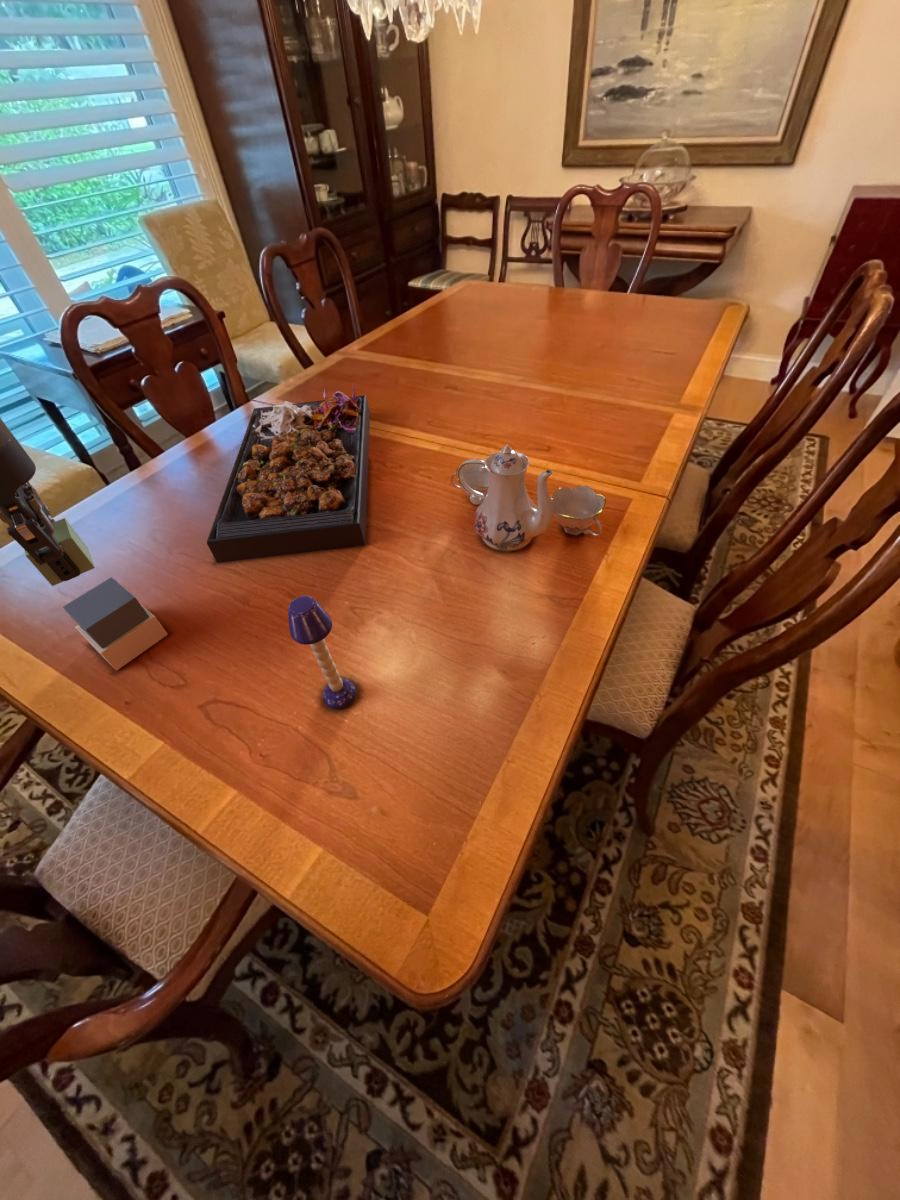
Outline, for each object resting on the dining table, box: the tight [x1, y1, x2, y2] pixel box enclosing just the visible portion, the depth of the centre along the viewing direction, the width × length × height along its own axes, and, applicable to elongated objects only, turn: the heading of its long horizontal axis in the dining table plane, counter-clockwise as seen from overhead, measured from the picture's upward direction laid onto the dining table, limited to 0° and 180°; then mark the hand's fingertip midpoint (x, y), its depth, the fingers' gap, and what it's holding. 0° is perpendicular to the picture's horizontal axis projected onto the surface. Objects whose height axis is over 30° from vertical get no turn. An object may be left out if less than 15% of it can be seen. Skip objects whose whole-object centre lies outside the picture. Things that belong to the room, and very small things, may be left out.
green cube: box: [23, 517, 96, 587], centre depth 65 cm, size 5×5×5 cm
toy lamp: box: [287, 595, 357, 710], centre depth 62 cm, size 5×5×17 cm
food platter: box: [206, 382, 371, 563], centre depth 100 cm, size 45×25×10 cm, turn 5°
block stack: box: [62, 577, 168, 671], centre depth 75 cm, size 8×8×8 cm
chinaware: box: [450, 444, 607, 553], centre depth 83 cm, size 28×17×17 cm, turn 62°
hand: (68, 564), depth 67 cm, fingers closed on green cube, 5 cm apart
